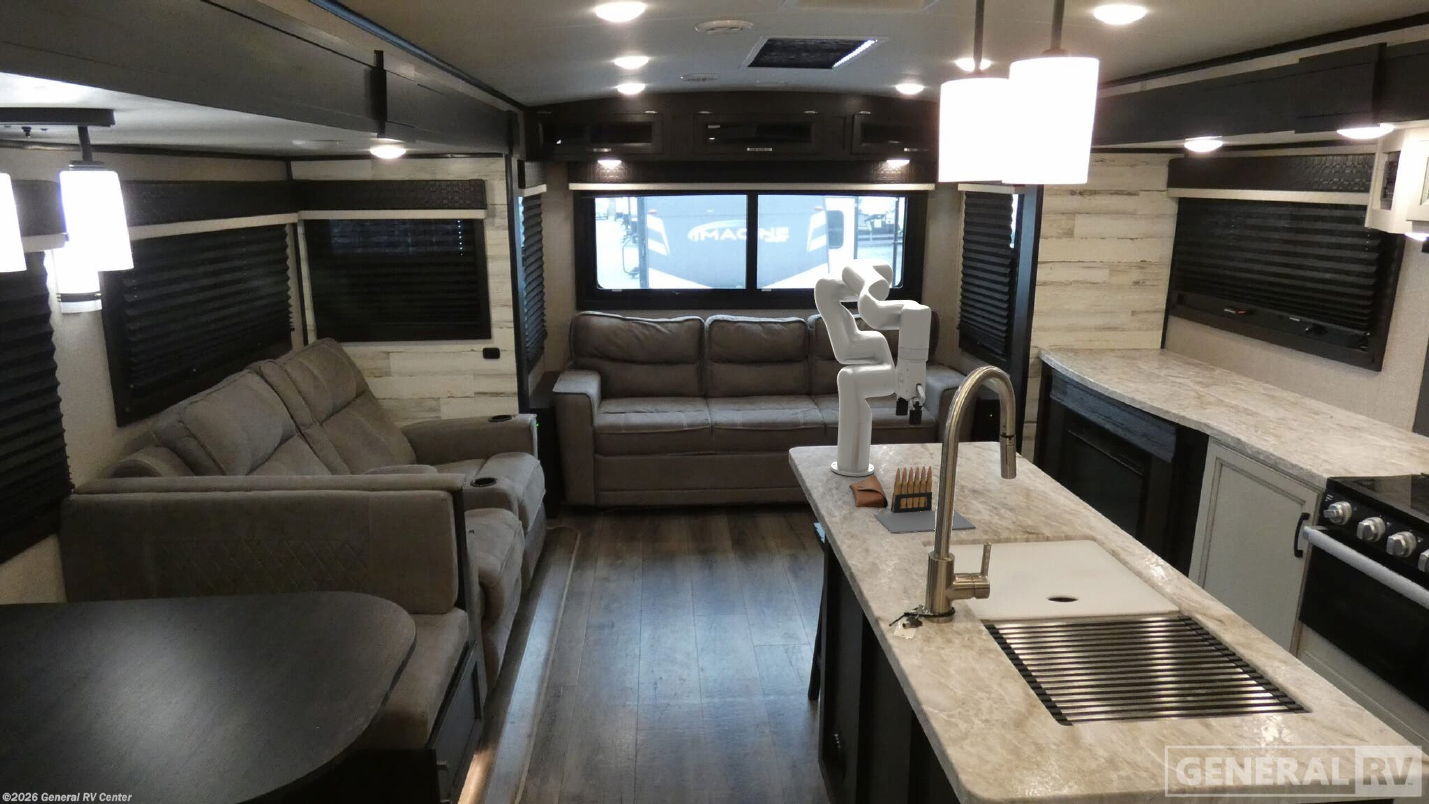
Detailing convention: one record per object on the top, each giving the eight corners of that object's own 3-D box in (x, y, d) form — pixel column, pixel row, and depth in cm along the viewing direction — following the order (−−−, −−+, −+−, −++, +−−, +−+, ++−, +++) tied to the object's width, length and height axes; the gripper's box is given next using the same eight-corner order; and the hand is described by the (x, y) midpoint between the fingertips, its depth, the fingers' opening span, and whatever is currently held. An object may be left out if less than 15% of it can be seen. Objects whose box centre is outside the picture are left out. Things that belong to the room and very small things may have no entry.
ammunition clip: (928, 508, 234) (931, 464, 231) (931, 510, 232) (935, 466, 230) (890, 511, 232) (893, 466, 229) (893, 513, 230) (896, 469, 227)
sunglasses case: (846, 484, 251) (860, 465, 250) (867, 497, 252) (880, 477, 250) (856, 507, 233) (870, 487, 232) (878, 521, 234) (892, 500, 233)
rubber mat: (873, 515, 228) (873, 514, 228) (954, 511, 232) (954, 509, 232) (891, 533, 217) (891, 532, 217) (975, 528, 221) (975, 526, 221)
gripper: (886, 347, 235) (882, 411, 240) (912, 361, 219) (907, 429, 223) (913, 347, 237) (908, 410, 241) (941, 360, 220) (935, 428, 225)
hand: (908, 419), depth 232 cm, fingers open, 8 cm apart
